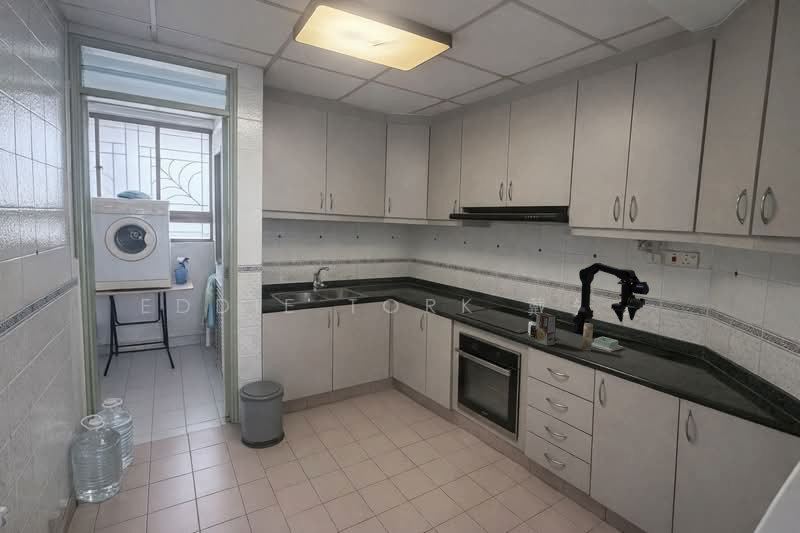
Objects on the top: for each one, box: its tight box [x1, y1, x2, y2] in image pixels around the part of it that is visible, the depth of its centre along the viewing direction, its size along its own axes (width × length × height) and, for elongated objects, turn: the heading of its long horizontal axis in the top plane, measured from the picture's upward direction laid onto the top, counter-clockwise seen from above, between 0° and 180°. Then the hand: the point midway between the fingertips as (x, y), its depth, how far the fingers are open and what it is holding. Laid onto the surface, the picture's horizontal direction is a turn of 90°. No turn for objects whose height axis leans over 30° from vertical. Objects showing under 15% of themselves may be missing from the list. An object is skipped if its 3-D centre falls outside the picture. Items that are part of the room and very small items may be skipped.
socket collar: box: [591, 336, 624, 353], centre depth 218 cm, size 12×12×4 cm
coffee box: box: [534, 312, 558, 346], centre depth 221 cm, size 9×6×16 cm
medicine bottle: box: [527, 314, 537, 337], centre depth 235 cm, size 7×7×12 cm
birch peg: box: [581, 322, 594, 352], centre depth 212 cm, size 4×4×14 cm
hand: (626, 321), depth 218 cm, fingers open, 9 cm apart
